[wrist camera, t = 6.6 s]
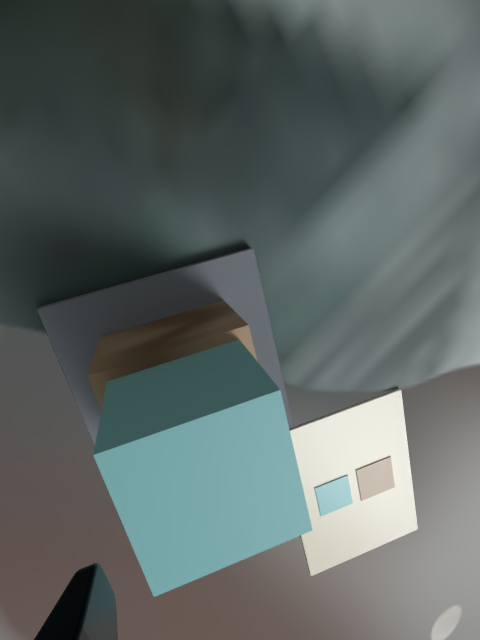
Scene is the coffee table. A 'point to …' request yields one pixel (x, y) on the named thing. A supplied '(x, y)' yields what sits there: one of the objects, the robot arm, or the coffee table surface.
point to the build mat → (158, 317)
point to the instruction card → (355, 480)
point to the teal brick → (200, 464)
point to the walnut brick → (165, 342)
